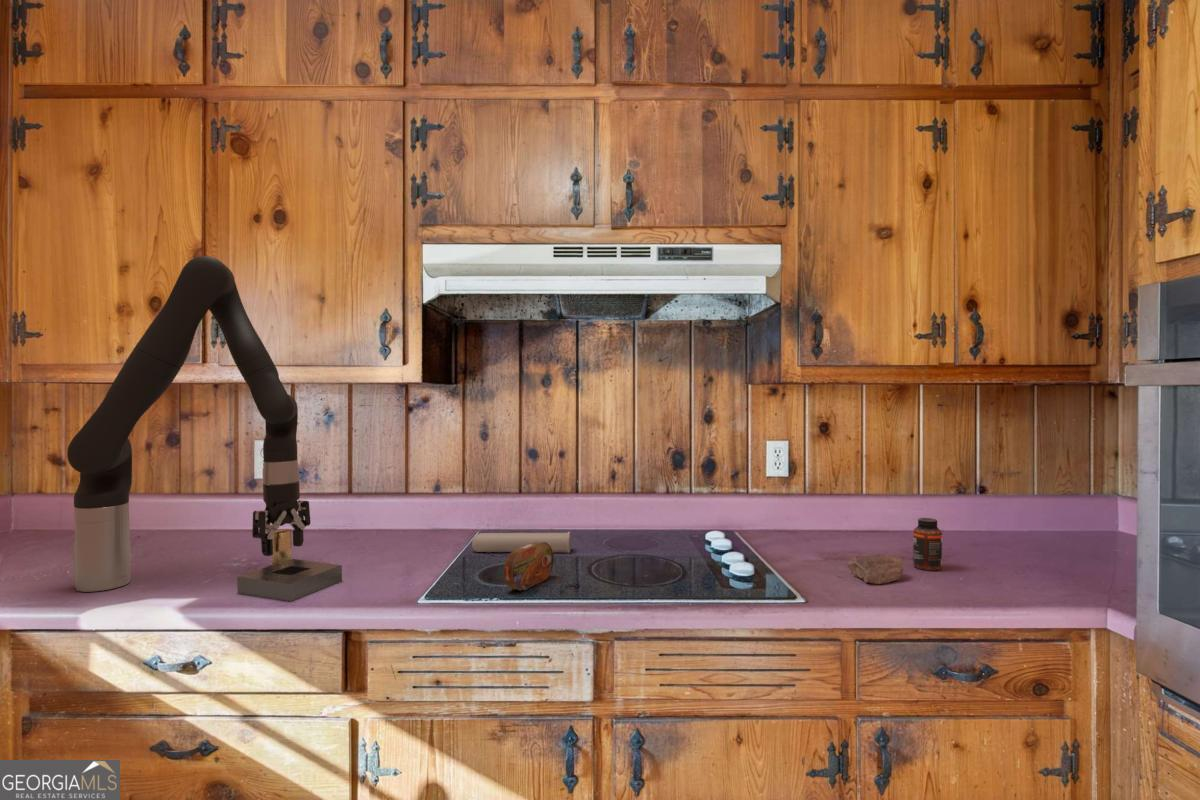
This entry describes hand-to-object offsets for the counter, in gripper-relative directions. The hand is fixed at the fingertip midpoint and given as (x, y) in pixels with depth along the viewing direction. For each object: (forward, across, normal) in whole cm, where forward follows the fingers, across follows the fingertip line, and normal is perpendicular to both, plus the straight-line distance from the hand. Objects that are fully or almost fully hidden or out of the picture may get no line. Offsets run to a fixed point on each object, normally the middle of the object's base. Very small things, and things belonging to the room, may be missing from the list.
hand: (283, 550), depth 149 cm
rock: (+6, -40, +127) cm, 133 cm away
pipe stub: (+4, 0, 0) cm, 4 cm away
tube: (+6, -33, +44) cm, 55 cm away
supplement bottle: (+6, -53, +139) cm, 148 cm away
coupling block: (+4, +9, +12) cm, 16 cm away
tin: (+5, -10, +58) cm, 59 cm away
